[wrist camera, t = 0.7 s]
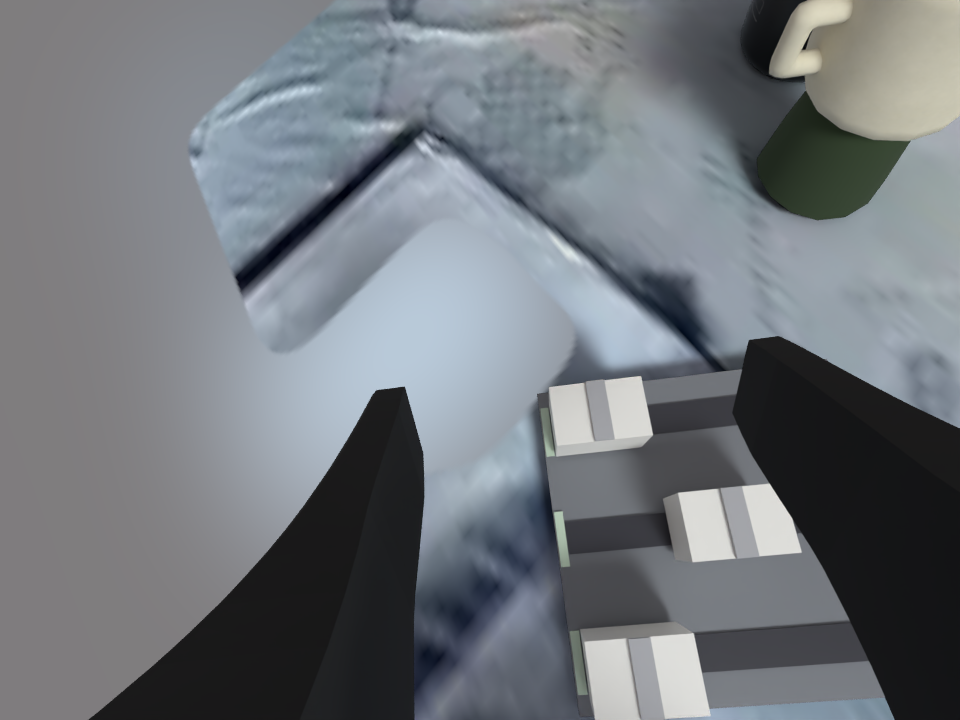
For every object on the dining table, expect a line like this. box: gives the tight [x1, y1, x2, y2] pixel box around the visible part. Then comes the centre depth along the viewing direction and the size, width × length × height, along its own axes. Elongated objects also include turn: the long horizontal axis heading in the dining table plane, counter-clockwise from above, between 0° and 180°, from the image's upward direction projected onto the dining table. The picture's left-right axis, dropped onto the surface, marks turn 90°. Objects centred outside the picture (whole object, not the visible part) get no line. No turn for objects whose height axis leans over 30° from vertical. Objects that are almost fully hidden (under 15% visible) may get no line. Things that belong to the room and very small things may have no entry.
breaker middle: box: [663, 484, 802, 562], centre depth 21 cm, size 3×4×3 cm, turn 95°
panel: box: [537, 359, 885, 717], centre depth 24 cm, size 14×14×1 cm
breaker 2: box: [580, 622, 711, 720], centre depth 20 cm, size 3×4×3 cm, turn 95°
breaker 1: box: [549, 376, 653, 457], centre depth 24 cm, size 3×4×3 cm, turn 95°
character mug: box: [757, 0, 960, 220], centre depth 24 cm, size 11×7×13 cm, turn 93°
